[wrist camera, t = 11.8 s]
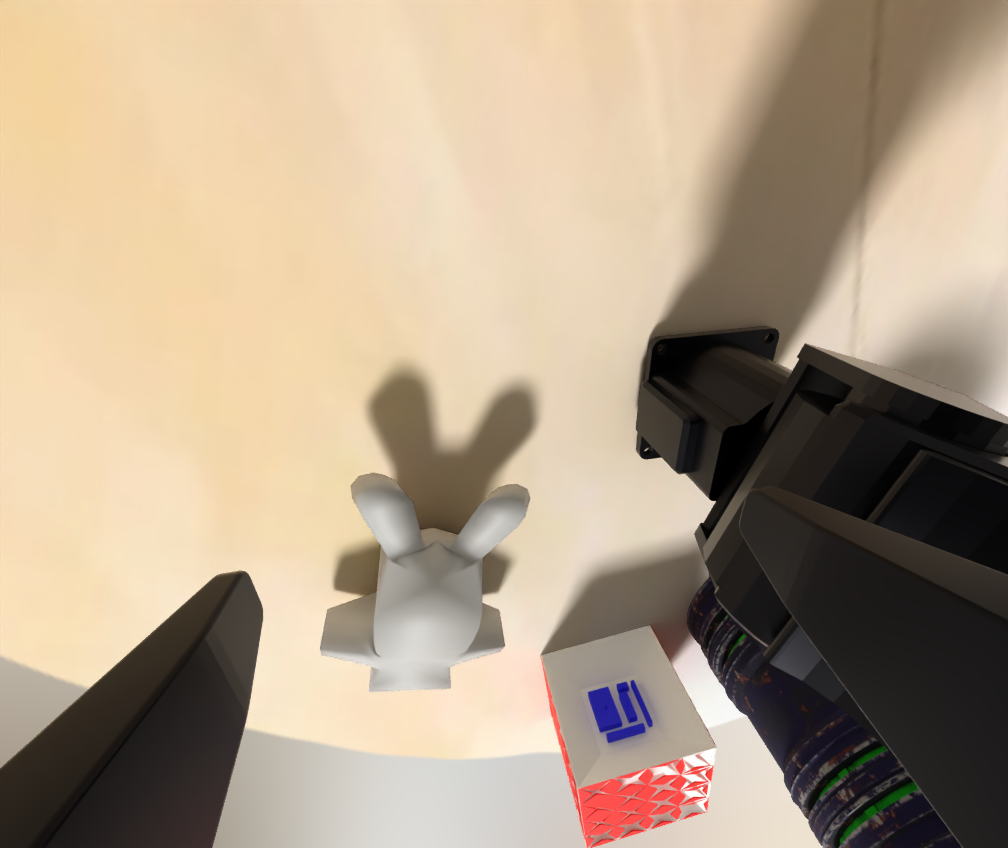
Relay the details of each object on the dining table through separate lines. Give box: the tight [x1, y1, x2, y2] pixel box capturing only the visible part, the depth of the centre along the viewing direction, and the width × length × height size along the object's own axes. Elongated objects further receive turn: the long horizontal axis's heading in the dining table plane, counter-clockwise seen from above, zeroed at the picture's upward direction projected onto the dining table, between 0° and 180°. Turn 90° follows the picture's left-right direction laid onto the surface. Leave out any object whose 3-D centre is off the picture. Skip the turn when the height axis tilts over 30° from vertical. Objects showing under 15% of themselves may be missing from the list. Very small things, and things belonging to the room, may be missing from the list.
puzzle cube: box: [541, 625, 716, 848], centre depth 29 cm, size 8×8×8 cm
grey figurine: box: [320, 473, 530, 692], centre depth 23 cm, size 10×5×15 cm
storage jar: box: [687, 578, 962, 848], centre depth 25 cm, size 10×10×15 cm
